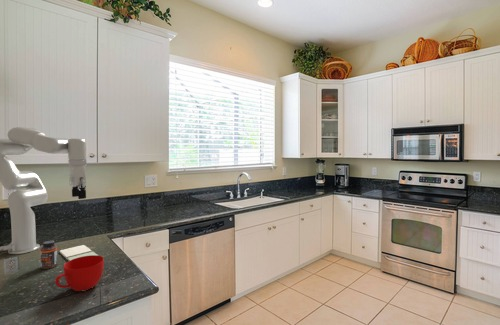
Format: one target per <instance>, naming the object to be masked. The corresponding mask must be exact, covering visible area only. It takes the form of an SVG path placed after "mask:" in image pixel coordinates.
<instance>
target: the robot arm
mask: <svg viewBox="0 0 500 325" xmlns="http://www.w3.org/2000/svg"><path fill="white" fill-rule="evenodd" d="M86 144H87V142H86V140H85V139H84V138H64V137H63V138H62V137H61V138H60V137H49V136H47V135H46V134H45V133H44V132H42V131H40V130H39V129H36V128H33V127H32V128H31V127H22V126H19V127H13V128H10V129H9V130H8V132H7V138H0V183H1V185H2V187H3V188H4V189H5V190H8V191H12V192H11V193H10V194H9V195H8V196H7V204H8V205H7V206H8V209H9V212H10V224H11V242H10V243H9V244H6V245H3V246H0V251H4V252H5V251H8V252H7V253H8V255H21V254H26V253H31V252H34V251H36V250H37V251H38V250H39V248H40V247H41V246H40V244H39V243H37V238H36V237H37V234H36V233H37V232H36V230H37V229H36V215H35V211H34V210H33V209H32V208H31V207H35V206H39V205H43V204H45V203H46V202H47V201H48V199H49V194H48V191H47V189H46V187H45V186H44V184H43V182H42V180H41V178H40V177H39V175H38V174H37V173H35V172H34V171H31V170H19V169H18V167H17V165H16V164H15V163H14V162H13V160H11V158H9V157H7V156H18V155H19V156H20V155H24V154H25V153H28V152H29V151H30V150H32V149H34V150H36V151H37V152H38V151H39V152H43V153H45V154H52V155H53V154H57V155H58V154H68V155H67V156H68V158H67V160H68V167H69V186H71V197H73V198H75V197H76V198H77V197H78V198H77V199H78V200H82V199H86V198H87V186H86V185H87V173H86V167H87V166H88V164H87V145H86Z"/></svg>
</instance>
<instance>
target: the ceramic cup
mask: <svg viewBox="0 0 500 325" xmlns="http://www.w3.org/2000/svg"><path fill="white" fill-rule="evenodd" d="M98 255H99V254H97V255H90V256H83V257H79V258H75V259H73V260H70V261H68V260H67V262H65V263H64V265H63V273H62V274H59V275H58V276H57V277H56V278H55V281H54V283H55V285H56V286H57V287H58V288H63V289H64V288H71V289H72V290H74V292H76V291H82V290H87V289H90V288H92V287H94V286H97V284H98V283H99V282H100V280H101V277H102V275H103V273H104V266H105V264H104V263H105V259H104V257H103V256H101V255H99V256H98ZM63 277H64V278H65V282H66V284H65V285H62V284H60V282H59V281H60V280H61V278H63ZM94 288H95V287H94ZM92 289H93V288H92ZM90 290H91V289H90Z"/></svg>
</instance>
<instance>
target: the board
mask: <svg viewBox="0 0 500 325" xmlns="http://www.w3.org/2000/svg"><path fill="white" fill-rule="evenodd" d="M59 253H60V254H61V255H62V256H63V257H64V258H65V259H66V260H67V262H68V261H70V260H73V259H75V258H79V257H83V256H90V255H98V256H100V255H99V254H97V253H96V252H95V251H94V250H92V249H90V248H89V247H88V246H86V244H82V245H77V246H72V247H69V248H65V249H61V250H59Z"/></svg>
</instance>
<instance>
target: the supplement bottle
mask: <svg viewBox="0 0 500 325" xmlns="http://www.w3.org/2000/svg"><path fill="white" fill-rule="evenodd" d="M56 266H58V246H57V245H56V244H55V240H47V241H44V242H43V243H42V247H41V248H40V268H41V269H42V270H50V269H53V268H56ZM49 268H50V269H49Z"/></svg>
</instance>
